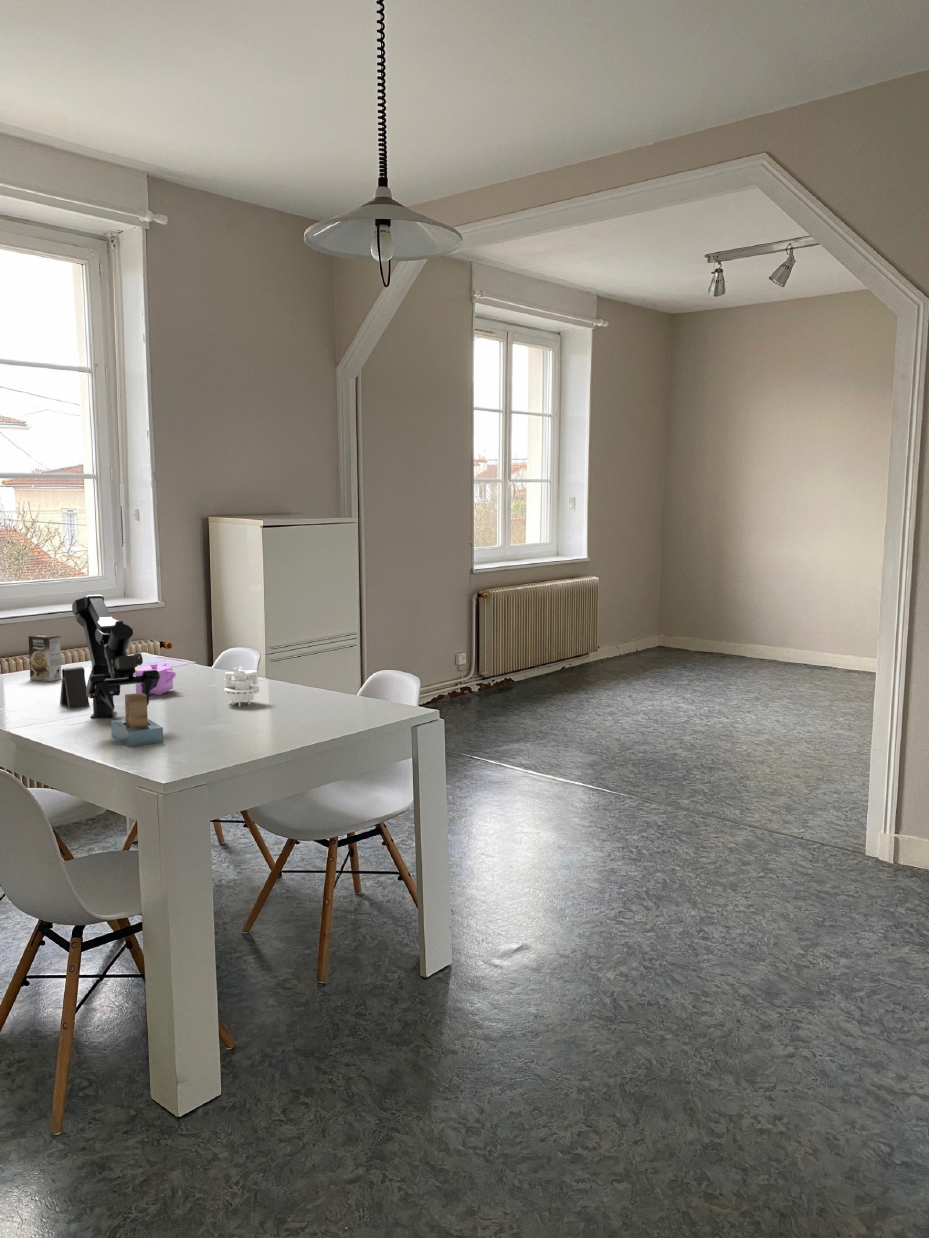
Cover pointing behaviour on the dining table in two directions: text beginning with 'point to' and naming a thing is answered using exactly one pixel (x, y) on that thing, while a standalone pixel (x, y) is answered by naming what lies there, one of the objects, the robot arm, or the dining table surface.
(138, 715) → the wooden square peg
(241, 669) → the mechanical part
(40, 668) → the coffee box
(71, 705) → the phone stand
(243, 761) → the dining table surface
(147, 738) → the socket block
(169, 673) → the teapot
